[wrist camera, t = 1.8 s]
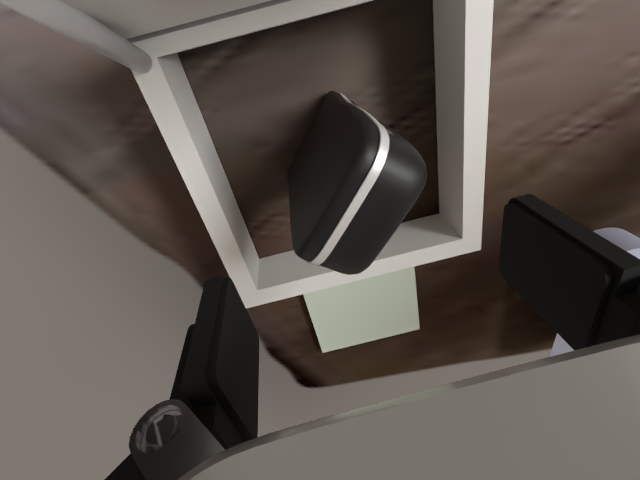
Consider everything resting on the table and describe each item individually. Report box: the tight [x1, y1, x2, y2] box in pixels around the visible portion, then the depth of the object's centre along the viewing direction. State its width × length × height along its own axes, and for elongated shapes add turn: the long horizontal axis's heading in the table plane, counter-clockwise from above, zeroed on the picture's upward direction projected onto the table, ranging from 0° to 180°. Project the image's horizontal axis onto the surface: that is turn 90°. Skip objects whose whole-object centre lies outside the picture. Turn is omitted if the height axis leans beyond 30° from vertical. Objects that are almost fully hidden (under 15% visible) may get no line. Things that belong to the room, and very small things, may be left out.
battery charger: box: [288, 91, 427, 275], centre depth 19 cm, size 7×4×11 cm, turn 152°
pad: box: [303, 267, 420, 353], centre depth 31 cm, size 10×10×1 cm
